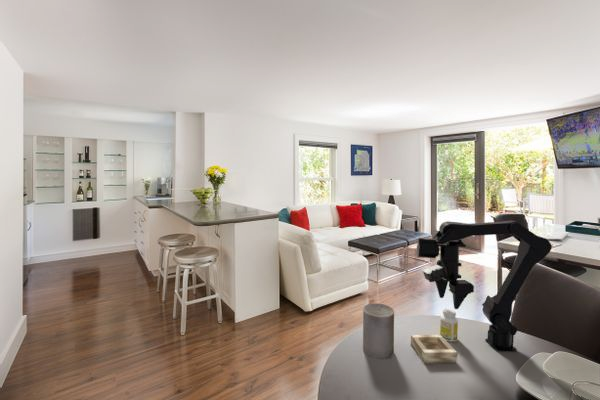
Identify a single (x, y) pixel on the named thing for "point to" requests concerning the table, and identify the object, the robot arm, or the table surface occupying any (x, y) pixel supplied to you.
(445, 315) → the supplement bottle
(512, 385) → the table surface
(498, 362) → the table surface
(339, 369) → the table surface
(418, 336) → the square holder
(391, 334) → the pillar candle
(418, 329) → the table surface
